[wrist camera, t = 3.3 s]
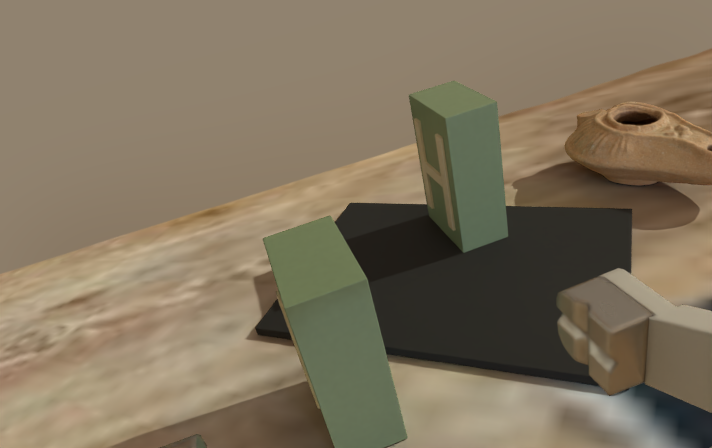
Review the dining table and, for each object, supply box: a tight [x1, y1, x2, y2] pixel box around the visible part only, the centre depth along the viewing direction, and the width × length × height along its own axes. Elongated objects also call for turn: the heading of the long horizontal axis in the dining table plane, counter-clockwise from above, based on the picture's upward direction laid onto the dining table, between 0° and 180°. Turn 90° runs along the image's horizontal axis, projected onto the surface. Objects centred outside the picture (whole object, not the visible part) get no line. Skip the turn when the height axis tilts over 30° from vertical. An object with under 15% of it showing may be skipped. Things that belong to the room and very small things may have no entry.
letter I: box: [263, 216, 407, 448], centre depth 27 cm, size 4×6×10 cm, turn 17°
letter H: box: [409, 81, 508, 253], centre depth 38 cm, size 4×6×10 cm, turn 17°
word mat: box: [255, 203, 632, 390], centre depth 37 cm, size 22×16×1 cm
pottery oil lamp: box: [565, 102, 712, 186], centre depth 41 cm, size 9×12×7 cm
